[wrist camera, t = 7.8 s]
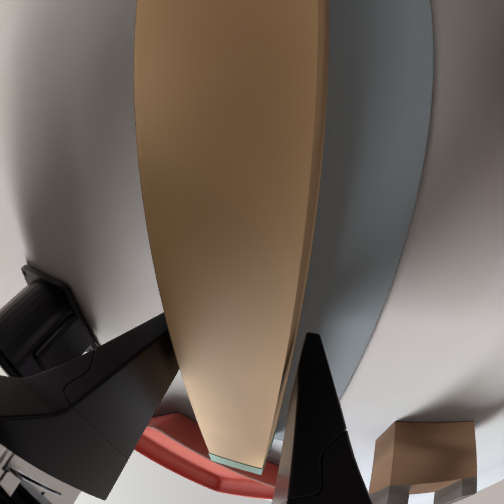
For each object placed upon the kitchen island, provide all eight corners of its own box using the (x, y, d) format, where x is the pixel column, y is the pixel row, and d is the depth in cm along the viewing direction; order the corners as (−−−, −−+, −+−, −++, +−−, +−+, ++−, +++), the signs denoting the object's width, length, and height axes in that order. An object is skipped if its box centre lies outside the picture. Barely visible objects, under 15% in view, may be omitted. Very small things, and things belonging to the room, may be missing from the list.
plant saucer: (326, 475, 20) (319, 503, 17) (225, 475, 30) (217, 493, 27) (173, 391, 18) (151, 427, 15) (116, 410, 28) (104, 429, 25)
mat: (199, 411, 17) (197, 415, 17) (154, -38, 5) (147, -41, 4) (312, 441, 15) (310, 446, 15) (418, -47, 3) (420, -53, 2)
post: (375, 440, 13) (364, 512, 9) (395, 421, 12) (386, 505, 7) (449, 440, 12) (447, 505, 8) (473, 421, 10) (476, 493, 6)
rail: (228, 421, 16) (211, 460, 13) (213, -40, 4) (148, -83, 2) (275, 433, 15) (261, 474, 12) (328, -47, 3) (312, -114, 1)
